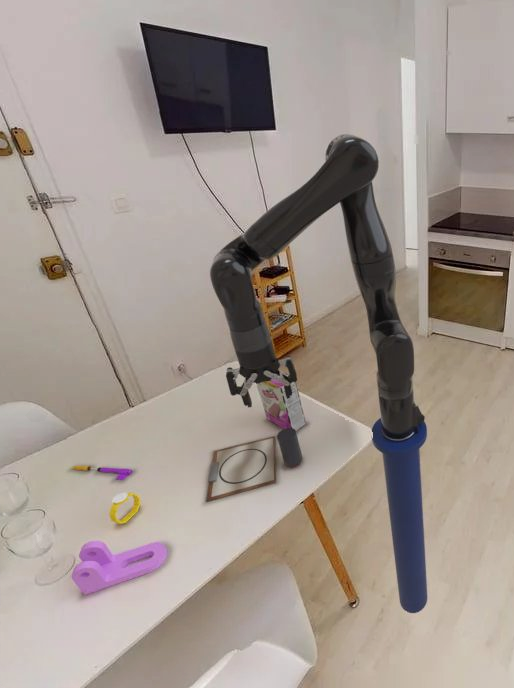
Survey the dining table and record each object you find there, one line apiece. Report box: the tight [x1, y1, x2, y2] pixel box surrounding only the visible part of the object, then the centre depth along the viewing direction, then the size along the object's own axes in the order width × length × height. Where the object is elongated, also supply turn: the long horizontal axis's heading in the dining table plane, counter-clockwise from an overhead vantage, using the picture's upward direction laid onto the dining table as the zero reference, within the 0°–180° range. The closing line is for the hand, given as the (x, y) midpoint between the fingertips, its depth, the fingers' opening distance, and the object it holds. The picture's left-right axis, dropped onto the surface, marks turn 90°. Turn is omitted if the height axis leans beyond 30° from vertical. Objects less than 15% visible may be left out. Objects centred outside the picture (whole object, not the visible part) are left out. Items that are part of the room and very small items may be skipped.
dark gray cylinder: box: [276, 428, 304, 468], centre depth 99 cm, size 4×4×10 cm
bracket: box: [70, 540, 168, 596], centre depth 78 cm, size 13×6×7 cm, turn 112°
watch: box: [109, 492, 141, 525], centre depth 88 cm, size 6×3×6 cm, turn 169°
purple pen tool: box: [71, 465, 133, 481], centre depth 100 cm, size 3×1×16 cm
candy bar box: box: [256, 371, 307, 432], centre depth 110 cm, size 11×5×16 cm, turn 58°
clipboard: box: [205, 435, 277, 503], centre depth 100 cm, size 15×16×1 cm
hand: (269, 400), depth 95 cm, fingers open, 8 cm apart
